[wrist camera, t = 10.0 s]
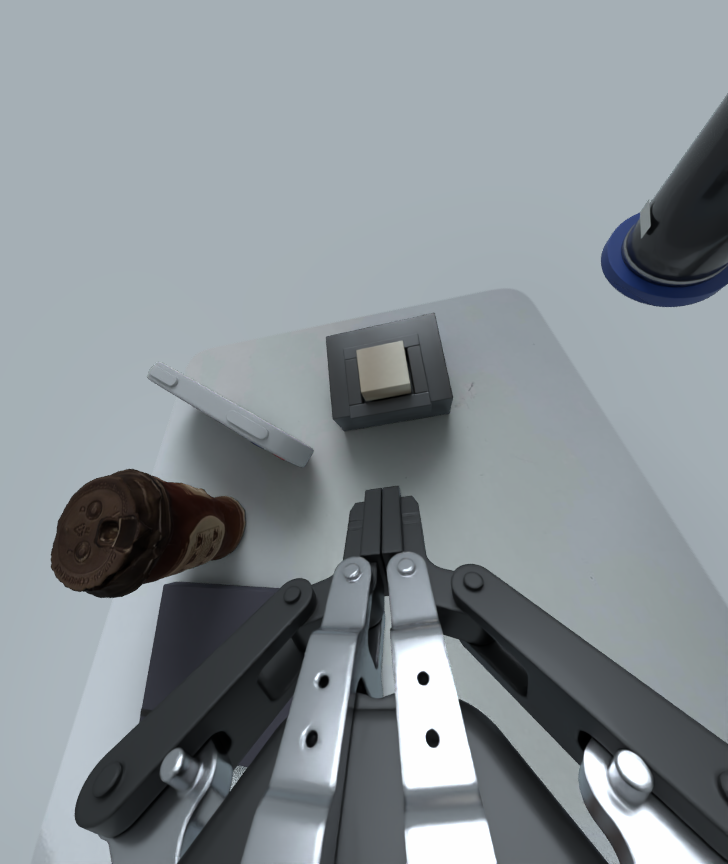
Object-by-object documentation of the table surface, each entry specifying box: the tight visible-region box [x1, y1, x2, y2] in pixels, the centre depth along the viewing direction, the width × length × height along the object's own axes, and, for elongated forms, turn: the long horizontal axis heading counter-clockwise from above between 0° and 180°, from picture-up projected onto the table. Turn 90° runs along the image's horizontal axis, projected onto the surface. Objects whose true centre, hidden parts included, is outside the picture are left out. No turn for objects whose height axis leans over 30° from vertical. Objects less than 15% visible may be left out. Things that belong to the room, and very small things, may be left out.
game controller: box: [147, 361, 314, 467], centre depth 30 cm, size 20×2×8 cm, turn 60°
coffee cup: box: [51, 469, 246, 598], centre depth 26 cm, size 9×8×13 cm
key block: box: [326, 313, 453, 431], centre depth 29 cm, size 11×10×6 cm
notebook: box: [139, 582, 294, 767], centre depth 26 cm, size 13×2×21 cm
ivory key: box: [356, 341, 411, 402], centre depth 26 cm, size 4×4×2 cm
